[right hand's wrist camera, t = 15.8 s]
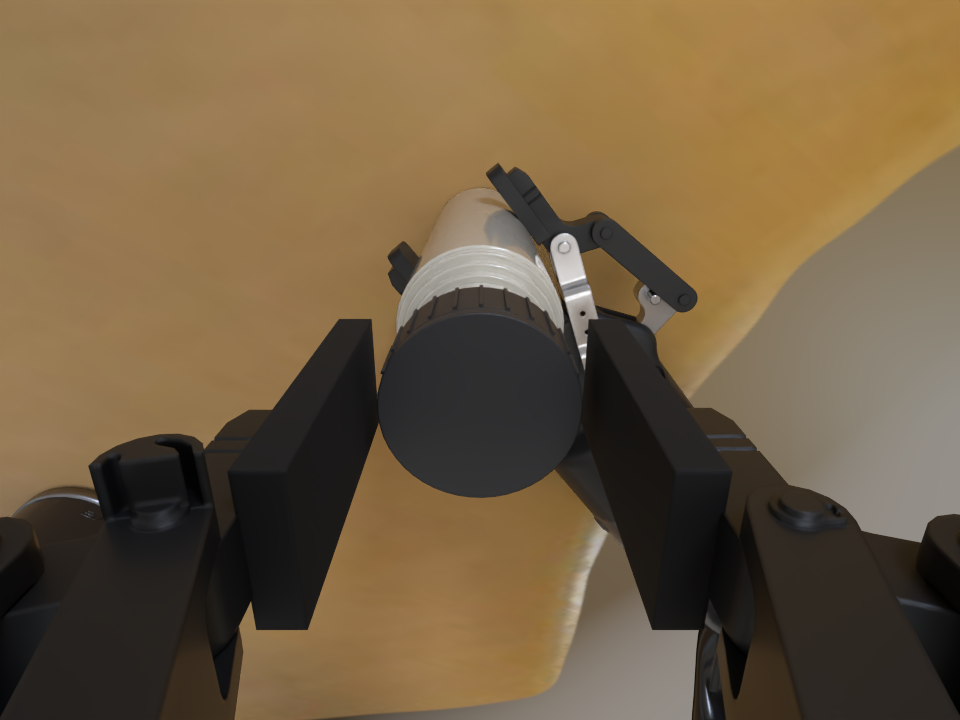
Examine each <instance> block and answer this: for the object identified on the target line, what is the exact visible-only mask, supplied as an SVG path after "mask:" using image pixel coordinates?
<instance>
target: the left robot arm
mask: <svg viewBox="0 0 960 720" xmlns="http://www.w3.org/2000/svg"><path fill="white" fill-rule="evenodd" d="M486 175H487V177H488V178H489V180H490V181H491V182H492V184H493V185H494V187H495V188H496V189H497V191H498V192H499V193H500V195H501V196H502V197H503V199H504V200H505V201H506V203H507V204H508V205H509V207H510V208H511V209H512V211H513V212H514V213H515V215H516V216H517V217H518V219H519V220H520V221H521V223H522V224H523V225H524V226H525V228H526V229H527V230H528V232H529V234H530V235H531V236H532V238H533V239H534V240H535V242H536V243H537V244H538V246H539V245H540V244H541V243H543V245H544V246H545V248H546V249H547V250H548V254H549V257H550V261H551V265H552V268H553V272H554V277H555V281H556V285H557V288H558V292H559V295H560V299H561V305H562V309H563V316H564V334H563V335H564V337H565V340H566V342H567V345H568V347H569V349H570V351H571V354H572V356H573V358H574V361H575V363H576V366H577V368H578V371H579V373H580V376H579V377H578V379H579V382H580V385H581V391H582V396H583V390H584V376H585V362H586V348H587V334H588V320H589V319H621V320H622V321H623V323H624V324H625V326H626V327H627V328H628V330H629V331H630V332H631V334H632V335H633V336H634V338H635V339H636V340H637V342H638V343H639V345H640V346H641V347H642V349H643V350H644V351H645V353H646V354H647V355H648V357H649V358H650V360H651V361H652V362H653V364H654V365H655V366H656V368H657V369H658V370H659V372H660V373H661V374H662V376H663V377H664V379H665V380H666V381H667V383H668V384H669V385H670V387H671V388H672V389H673V391H674V392H675V393H676V395H677V396H678V398H679V399H680V400H681V402H682V403H683V404H684V406H685V407H686V408H694V407H693V406H692V404H691V403H690V402H689V400H688V399H687V398H686V396H685V395H684V393H683V392H682V391H681V389H680V388H679V386H678V385H677V384H676V382H675V381H674V380H673V378H672V377H671V375H670V374H669V373H668V371H667V370H666V368H665V367H664V366H663V364H662V363H661V362H660V360H659V358H658V355H657V343H656V338H655V335H654V334H655V333H656V332H657V331H658V330H659V329H660V328H661V327H662V326H663V325H664V324H665V323H666V322H667V321H668V320H669V319H670V318H671V317H672V316H673V314H674V313H675V312H676V311H678V312H687V311H689V310H691V309H692V308H693V307H694V306H695V305H696V302H697V293H696V292H695V290H694V289H693V288H692V287H690V286H689V285H688V284H687V283H686V282H685V281H683V280H682V279H681V278H680V277H679V276H678V275H676V274H675V273H674V272H673V271H672V270H671V269H670V268H668V267H667V266H666V265H665V264H664V263H663V262H661V261H660V260H659V259H658V258H657V257H656V256H655V255H653V254H652V253H651V252H650V251H649V250H648V249H646V248H645V247H644V246H643V245H642V244H641V243H640V242H638V241H637V240H636V239H635V238H634V237H633V236H631V235H630V234H629V233H628V232H627V231H626V230H625V229H623V228H622V227H621V226H620V225H619V224H618V223H616V222H615V221H614V220H612V219H610V218H609V217H608V216H607V215H605V214H604V213H602V212H598V211H596V212H592V213H590V214H588V215H587V216H586V217H585V218H582V219H578V220H575V221H571V222H567V221H563V220H561V219H559V218H558V216H557V215H556V214H555V212H554V211H553V209H552V208H551V207H550V205H549V204H548V202H547V201H546V200H545V198H544V197H543V195H542V194H541V193H540V191H539V190H538V189H537V187H536V186H535V184H534V183H533V182H532V180H531V179H530V177H529V176H528V175H527V174H526V173H525V172H523V171H522V170H520V169H518V168H517V167H514V168H513V169H512V170H510V171H509V172H508V173H507V174H506V173H505V171H504V170H503V168H502V167H501V166H500V164H499V163H497V164H496V165H495V166H494V167H492V168H491V169H490V170H489V171H488V172H486ZM599 247H601V248H602V249H603V250H604V251H606V252H607V253H608V254H609V255H610V256H612V257H613V258H614V259H615V260H616V261H617V262H619V263H620V264H621V265H622V266H623V267H625V268H626V269H627V270H628V271H629V272H630V273H632V274H633V275H634V276H635V277H636V278H638V279H639V281H638V282H637V284H636V285H635V287H634V296H635V298H636V299H637V300H638V302H639V304H640V312H639V314H638V316H637V317H634V316H631V315H627V314H624V313H620V312H617V311H613V310H609V309H606V308H602V307H599V306H595V304H594V300H593V296H592V293H591V289H590V286H589V283H588V281H587V278H586V274H585V270H584V266H583V262H582V259H581V255H580V253H583V252H586V251H589V250H593V249H596V248H599ZM388 259H389V261H390V263H391V264H392V266H393V267H392V268H391V270H390V271H389V273H388V275H389V278H390V281H391V283H392V285H393V287H394V288H395V289H396V290H397V291H398V292H399V293H400V294H401V296H402V294H403V292H404V289H405V287H406V285H407V283H408V281H409V279H410V277H411V274H412V272H413V270H414V268H415V266H416V264H417V262H418V260H419V257H418V256H417V255H416V254H415V252H414V251H413V250H412V249H411V248H410V246H409V245H408V244H407V243H405V242H404V241H403V242H402V243H400V244H399V245H398V246H397V247H395V248H394V249H393V250H392V251H391V252H390V254H389V255H388ZM555 470H556V471H557V473H558V474H559V475H560V476H561V477H562V478H563V480H564V481H565V482H566V483H567V484H568V486H569V487H570V488H571V489H572V490H573V491H574V493H575V494H576V495H577V496H578V497H579V498H580V499H581V501H582V502H583V503H584V504H585V505H586V506H587V508H588V509H589V510H590V511H591V512H592V514H593V516H594V519H595V520H596V521H597V523H598V524H599V525H600V526H601V527H602V528H603V529H604V530H606V531H607V532H608V533H610V535H611V536H612V537H613V538H614V539H615V540H616V541H617V542H618V543H619V544H620V545H621V546H622V547H623V548H624V546H623V543H622V540H621V537H620V534H619V531H618V528H617V525H616V522H615V520H614V517H613V514H612V511H611V508H610V505H609V502H608V499H607V496H606V493H605V490H604V488H603V485H602V482H601V479H600V476H599V473H598V470H597V467H596V464H595V461H594V458H593V455H592V453H591V450H590V447H589V444H588V441H587V438H586V435H585V432H584V429H583V426H582V423H581V424H580V428H579V432H578V434H577V437H576V439H575V441H574V444H573V445H572V447H571V449H570V450H569V452H568V454H567V455H566V456H565V457H564V459H563V460H562V461H561V463H560V464H559V465H558V466H557V467H556V468H555ZM12 518H20V519H24V520H26V521H27V522H28V523H30V524H31V525H33V527H34V530H35V533H36V536H37V539H38V542H39V545H45V544H50V543H55V542H60V541H66V540H71V539H76V538H81V537H86V536H91V535H95V534H98V532H99V530H100V528H101V526H102V524H103V522H104V519H103V515H102V512H101V508H100V505H99V501H98V498H97V494H96V492H95V491H91V490H86V489H80V488H57V489H52V490H48V491H45V492H42V493H40V494H38V495H36V496H34V497H33V498H31V499H30V500H29V501H28V502H26V503H25V504H24V505H23V506H21V507H20V508H19V509H18V510H17V511H16V512H15V513H14V514H13V516H12ZM721 625H722V624H721V622H720V619H719V617H718V615H717V613H716V611H715V609H714V607H713V605H712V603H711V601H710V599H709V603H708V609H707V614H706V619H705V625H704V630H699V633H698V641H697V649H696V666H695V683H694V698H693V710H692V720H726V716H725V709H724V701H723V694H722V686H721V679H720V682H719V687H718V692H717V693H716V692H712V691H709V688H710V681H711V675H712V670H713V665H714V660H715V655H716V650H717V645H718V640H719V635H720V630H721Z"/></svg>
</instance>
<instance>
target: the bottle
mask: <svg viewBox="0 0 960 720" xmlns="http://www.w3.org/2000/svg"><path fill="white" fill-rule="evenodd" d="M479 285H483V287H491V288H497V289H504V288H507V290H508V291H509V292H512V293H515V294H517V295H520V296H522V297H524V298H526V297H528V298H529V299H530V301H531V302H532V303H534V304H535V305H537V306H538V307H539V308H540V309H541V310H543V311H545V310H546V311H547V312H548V314H549V317H550V319H551V320H552V321H553V322H554V324H555V325H556V327H557V328H561V330H562V332H563V334H564V316H563V309H562V305H561V301H560V299H559V296H558V294H557V291H556V289H555V287H554V285H553V283H552V281H551V278H550V276H549V274H548V272H547V270H546V268H545V266H544V263H543V261H542V259H541V257H540V255H539V253H538V251H537V248H536V246H535V244H534V242H533V240H532V238H531V236H530V234H529V232H528V230H527V229H526V228H525V226H524V225H523V224H522V223H521V221H520V220H519V219H518V217H517V216H516V215H515V213H514V212H513V211H512V209H511V208H510V207H509V205H508V204H507V203H506V201H505V200H504V199H503V197H502V196H501V195H500V193H499V192H497V191H495V190H492V189H487V188H473V189H468V190H465V191H463V192H461V193H459V194H457V195H455V196H454V197H453V198H452V199H450V200H449V201H448V202H447V204H446V205H445V206H444V208H443V209H442V211H441V213H440V215H439V217H438V219H437V221H436V223H435V225H434V227H433V230H432V232H431V234H430V236H429V238H428V240H427V242H426V245H425V247H424V249H423V251H422V253H421V255H420V257H419V260H418V262H417V264H416V266H415V268H414V270H413V272H412V274H411V277H410V279H409V281H408V283H407V285H406V287H405V289H404V292H403V294H402V296H401V299H400V302H399V305H398V310H397V316H396V333H398V331H399V328H400V327H401V326H403V327H404V325H405V324H406V322H407V321H408V320H409V319H410V318H411V316H412V315H413V312H414V310H415V309H417V310H419V309H420V308H421V307H422V306H424V305H425V304H426V303H428V302H429V301H431V300H432V298H433V296H435V295H436V296H437V297H438V296H440V295H442V294H445V293H448V292H451V291H454V290H455V288H457V287H459V289H463V288H470V287H479Z"/></svg>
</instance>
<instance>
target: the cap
mask: <svg viewBox="0 0 960 720" xmlns="http://www.w3.org/2000/svg"><path fill="white" fill-rule="evenodd" d="M381 374H383V375H382V378H381V382H380V386H379V390H378V394H377V397H378V398H377V413H378V419H379V425H380V428H381V431H382V434H383V437H384V439H385V441H386V443H387V445H388V447H389V449H390V450H391V452H392V453H393V455H394V456H395V458H396V459H397V460H398V461H399V462H400V463H401V465H402V466H403V467H404V468H405V469H406V470H408V471H409V472H410V473H411V474H412V475H413V476H415V477H416V478H418V479H419V480H421V481H422V482H424V483H426V484H428V485H429V486H431V487H433V488H436V489H438V490H441V491H443V492H446V493H450V494H454V495H458V496H465V497H477V498H485V497H496V496H501V495H507V494H510V493H513V492H517V491H520V490H522V489H524V488H527V487H529V486H531V485H533V484H534V483H536V482H538V481H540V480H541V479H543V478H544V477H545V476H546V475H548V474H549V473H550V472H552V471H553V470H554V469H555V468H556V467H557V466H558V465H559V464H560V463H561V461H562V460H563V459H564V457H565V456H566V455H567V454H568V452H569V450H570V449H571V447H572V445H573V444H574V441H575V439H576V437H577V434H578V432H579V428H580V424H581V420H582V412H583V396H582V391H581V385H580V382H579V379H578V377H579V376H580V373H579V371H578V368H577V366H576V363H575V361H574V358H573V356H572V354H571V351H570V349H569V347H568V345H567V342H566V340H565V337H564V335H563V332H562V330H561V328H557V327H556V325H555V324H554V322H553V321H552V320H551V319H550V317H549V314H548V312H547V311H546V310H545V311H543V310H541V309H540V308H539V307H538V306H537V305H535V304H534V303H532V302H531V301H530V299H529V298H528V297H526V298H524V297H522V296H520V295H517V294H515V293H512V292H509V291H508V290H507V288H504V289H497V288H491V287H483V285H479V287H470V288H463V289H459V287H457V288H455V290H454V291H451V292H448V293H445V294H442V295H440V296H438V297H437V296H436V295H435V296H433V298H432V300H431V301H429V302H428V303H426V304H425V305H424V306H422V307H421V308H420V309H419V310H417V309H415V310H414V312H413V315H412V316H411V318H410V319H409V320H408V321H407V322H406V324H405V325H404V327H403V326H401V327H400V328H399V331H398V333H397V336H396V338H395V341H394V343H393V346H391V348H390V351H389V353H388V356H387V358H386V361H385V363H384V365H383V368H382V370H381Z"/></svg>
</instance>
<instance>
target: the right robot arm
mask: <svg viewBox="0 0 960 720" xmlns="http://www.w3.org/2000/svg"><path fill="white" fill-rule="evenodd" d="M378 423H379V419H378V413H377V390H376V376H375V362H374V348H373V334H372V320H371V319H339V320H338V321H337V323H336V324H335V325H334V327H333V328H332V330H331V331H330V332H329V334H328V335H327V336H326V338H325V339H324V340H323V342H322V343H321V345H320V346H319V347H318V349H317V350H316V351H315V353H314V354H313V355H312V357H311V358H310V359H309V361H308V362H307V364H306V365H305V366H304V368H303V369H302V370H301V372H300V373H299V374H298V376H297V377H296V379H295V380H294V381H293V383H292V384H291V385H290V387H289V388H288V389H287V391H286V392H285V393H284V395H283V396H282V398H281V399H280V400H279V402H278V403H277V404H276V406H275V407H274V408H273V410H248V411H246V412H245V413H243V414H241V415H240V416H238V417H236V418H234V419H233V420H231V421H229V422H228V423H227V424H226V425H225V426H224V427H223V428H222V429H221V431H220V432H219V433H218V434H217V435H216V436H215V440H214V441H211V442H210V443H209V445H208V446H207V447H206V448H205V449H204V448H203V443H202V442H200V441H199V440H197V439H196V438H195V437H192V436H187V435H182V434H159V435H154V436H148V437H143V438H138V439H135V440H132V441H129V442H126V443H123V444H121V445H118V446H116V447H114V448H112V449H110V450H108V451H107V452H105V453H103V454H101V455H99V456H98V457H97V458H96V459H95V460H94V461H93V462H92V463H91V464H90V465H89V470H90V473H91V477H92V480H93V484H94V487H95V491H96V494H97V498H98V501H99V505H100V508H101V512H102V515H103V519H104V522H103V524H102V526H101V528H100V530H99V532H98V534H95V535H91V536H86V537H81V538H76V539H71V540H66V541H60V542H55V543H50V544H45V545H39V542H38V539H37V536H36V533H35V530H34V527H33V525H31V524H30V523H28V522H27V521H26V520H24V519H20V518H12V517H2V518H0V720H234V718H235V710H236V703H237V695H238V688H239V680H240V672H241V665H242V657H243V647H242V640H241V635H240V630H239V625H240V623H241V621H242V619H243V616H244V614H245V612H246V610H247V608H248V606H249V604H250V602H251V603H252V609H253V614H254V619H255V625H256V630H308V627H309V624H310V622H311V619H312V616H313V613H314V610H315V607H316V604H317V601H318V598H319V595H320V592H321V589H322V587H323V584H324V581H325V578H326V575H327V572H328V569H329V566H330V563H331V560H332V557H333V555H334V552H335V549H336V546H337V543H338V540H339V537H340V534H341V531H342V528H343V525H344V522H345V520H346V517H347V514H348V511H349V508H350V505H351V502H352V499H353V496H354V493H355V490H356V488H357V485H358V482H359V479H360V476H361V473H362V470H363V467H364V464H365V461H366V458H367V455H368V453H369V450H370V447H371V444H372V441H373V438H374V435H375V432H376V429H377V426H378ZM581 423H582V426H583V429H584V432H585V435H586V438H587V441H588V444H589V447H590V450H591V453H592V455H593V458H594V461H595V464H596V467H597V470H598V473H599V476H600V479H601V482H602V485H603V488H604V490H605V493H606V496H607V499H608V502H609V505H610V508H611V511H612V514H613V517H614V520H615V522H616V525H617V528H618V531H619V534H620V537H621V540H622V543H623V546H624V549H625V552H626V555H627V557H628V560H629V563H630V566H631V569H632V572H633V575H634V578H635V581H636V584H637V587H638V589H639V592H640V595H641V598H642V601H643V604H644V607H645V610H646V613H647V616H648V619H649V622H650V624H651V627H652V630H704V625H705V619H706V614H707V609H708V603H709V599H710V601H711V603H712V605H713V607H714V609H715V611H716V613H717V615H718V617H719V619H720V622H721V624H722V625H721V630H720V635H719V640H718V645H717V650H716V655H715V660H714V665H713V670H712V675H711V681H710V688H709V691H712V692H716V693H717V692H718V687H719V682H720V679H721V686H722V694H723V701H724V709H725V716H726V720H960V515H957V514H951V515H943V516H937V517H935V518H934V519H933V520H931V521H930V522H929V523H928V525H927V527H926V531H925V533H924V536H923V539H922V542H921V543H919V542H914V541H909V540H904V539H898V538H893V537H888V536H883V535H878V534H872V533H868V532H864V531H861V529H860V527H859V525H858V523H857V521H856V520H855V519H854V518H853V516H852V515H851V514H850V513H849V512H848V511H847V509H846V508H844V507H843V506H841V505H840V504H838V503H837V502H835V501H834V500H832V499H830V498H829V497H826V496H824V495H821V494H819V493H817V492H814V491H812V490H809V489H804V488H800V487H795V486H791V485H788V484H787V483H786V481H785V480H784V479H783V478H782V477H781V476H780V474H779V473H778V472H777V471H776V470H775V469H774V468H773V466H772V465H771V464H770V463H769V462H768V460H767V459H766V458H765V457H764V456H763V455H762V454H761V452H760V451H757V450H756V449H757V448H756V447H755V445H754V444H753V443H752V442H751V441H750V440H749V439H748V438H746V435H745V434H744V433H743V432H742V430H741V429H740V428H739V427H738V426H737V425H736V423H735V422H734V421H733V420H731V419H729V418H728V417H726V416H724V415H722V414H721V413H719V412H717V411H715V410H714V409H712V408H686V407H685V406H684V404H683V403H682V402H681V400H680V399H679V398H678V396H677V395H676V393H675V392H674V391H673V389H672V388H671V387H670V385H669V384H668V383H667V381H666V380H665V379H664V377H663V376H662V374H661V373H660V372H659V370H658V369H657V368H656V366H655V365H654V364H653V362H652V361H651V360H650V358H649V357H648V355H647V354H646V353H645V351H644V350H643V349H642V347H641V346H640V345H639V343H638V342H637V340H636V339H635V338H634V336H633V335H632V334H631V332H630V331H629V330H628V328H627V327H626V326H625V324H624V323H623V321H622V320H621V319H589V320H588V334H587V348H586V362H585V376H584V390H583V412H582V420H581Z"/></svg>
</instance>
